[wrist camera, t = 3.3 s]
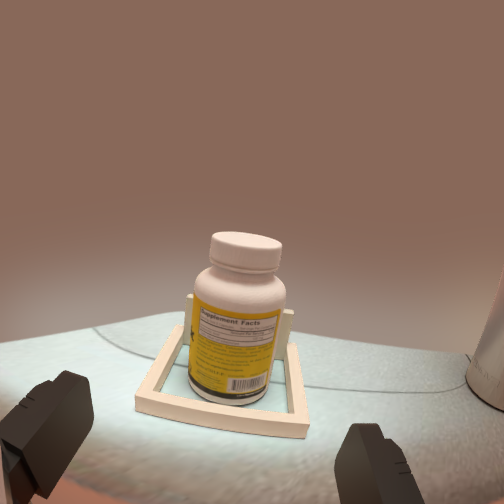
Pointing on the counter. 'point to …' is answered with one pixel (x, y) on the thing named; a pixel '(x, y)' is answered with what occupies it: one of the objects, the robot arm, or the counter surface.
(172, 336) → the beige open frame
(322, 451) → the counter surface
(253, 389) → the supplement bottle
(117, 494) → the counter surface
